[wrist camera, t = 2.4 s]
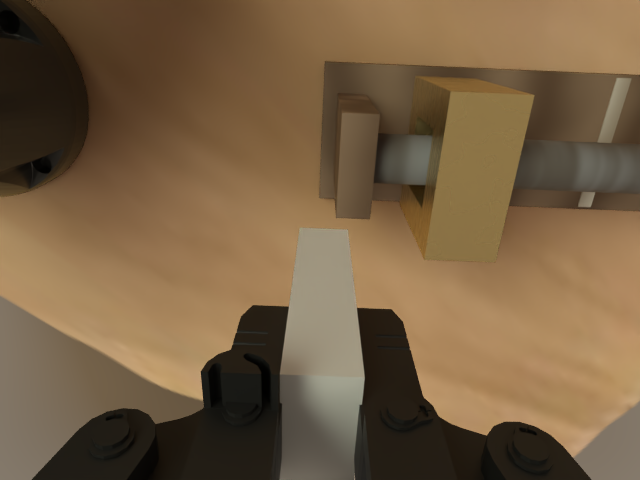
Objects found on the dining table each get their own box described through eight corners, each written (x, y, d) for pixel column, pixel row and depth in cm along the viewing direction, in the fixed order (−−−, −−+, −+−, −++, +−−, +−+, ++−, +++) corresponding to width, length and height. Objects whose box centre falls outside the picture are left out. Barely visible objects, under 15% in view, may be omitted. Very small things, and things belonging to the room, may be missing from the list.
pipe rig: (319, 193, 36) (317, 247, 27) (324, 61, 32) (325, 71, 22) (685, 208, 36) (807, 267, 27) (739, 79, 32) (906, 96, 23)
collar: (399, 203, 33) (424, 259, 25) (415, 75, 29) (450, 91, 21) (452, 206, 33) (495, 262, 25) (475, 78, 29) (534, 94, 21)
